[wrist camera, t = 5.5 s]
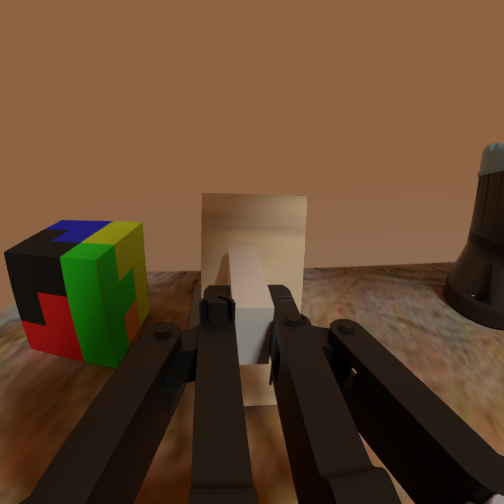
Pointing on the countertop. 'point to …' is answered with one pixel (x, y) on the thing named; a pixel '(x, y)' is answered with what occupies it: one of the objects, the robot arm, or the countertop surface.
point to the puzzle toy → (81, 289)
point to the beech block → (269, 251)
